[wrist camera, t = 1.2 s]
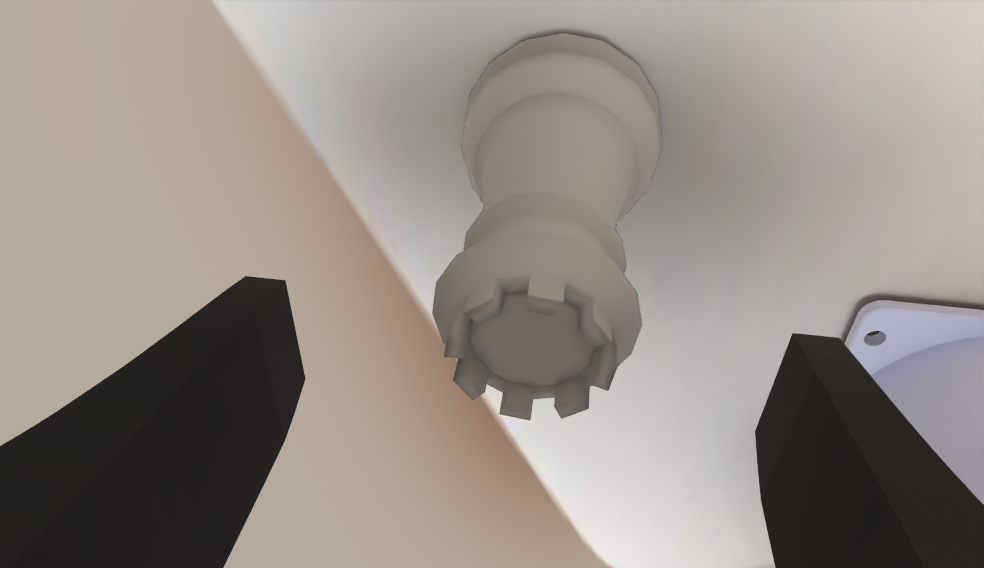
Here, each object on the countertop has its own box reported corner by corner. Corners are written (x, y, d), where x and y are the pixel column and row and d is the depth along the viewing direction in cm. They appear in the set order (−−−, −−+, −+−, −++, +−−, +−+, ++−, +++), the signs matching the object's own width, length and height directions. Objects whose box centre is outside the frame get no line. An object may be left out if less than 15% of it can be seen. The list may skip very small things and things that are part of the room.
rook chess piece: (623, -9, 15) (626, 191, 8) (685, 171, 17) (724, 432, 11) (434, 70, 16) (320, 287, 10) (514, 225, 19) (461, 480, 12)
